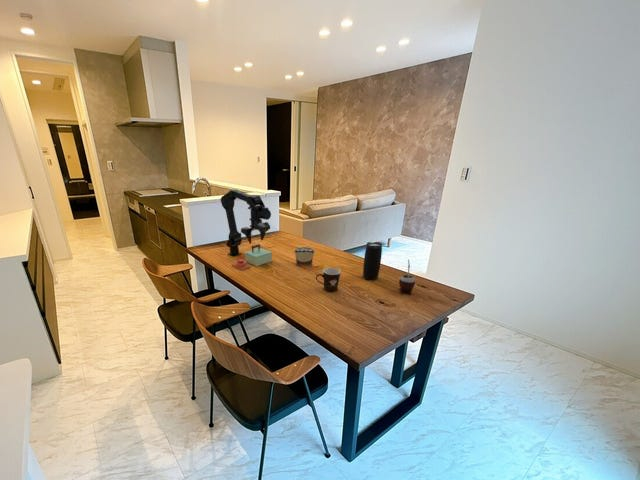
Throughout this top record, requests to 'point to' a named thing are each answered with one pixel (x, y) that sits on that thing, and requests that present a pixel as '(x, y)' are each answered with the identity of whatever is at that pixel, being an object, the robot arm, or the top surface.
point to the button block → (241, 265)
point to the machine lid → (257, 251)
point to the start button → (240, 261)
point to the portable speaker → (372, 260)
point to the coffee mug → (330, 279)
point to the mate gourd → (407, 282)
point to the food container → (304, 256)
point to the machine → (258, 259)
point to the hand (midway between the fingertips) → (256, 241)
